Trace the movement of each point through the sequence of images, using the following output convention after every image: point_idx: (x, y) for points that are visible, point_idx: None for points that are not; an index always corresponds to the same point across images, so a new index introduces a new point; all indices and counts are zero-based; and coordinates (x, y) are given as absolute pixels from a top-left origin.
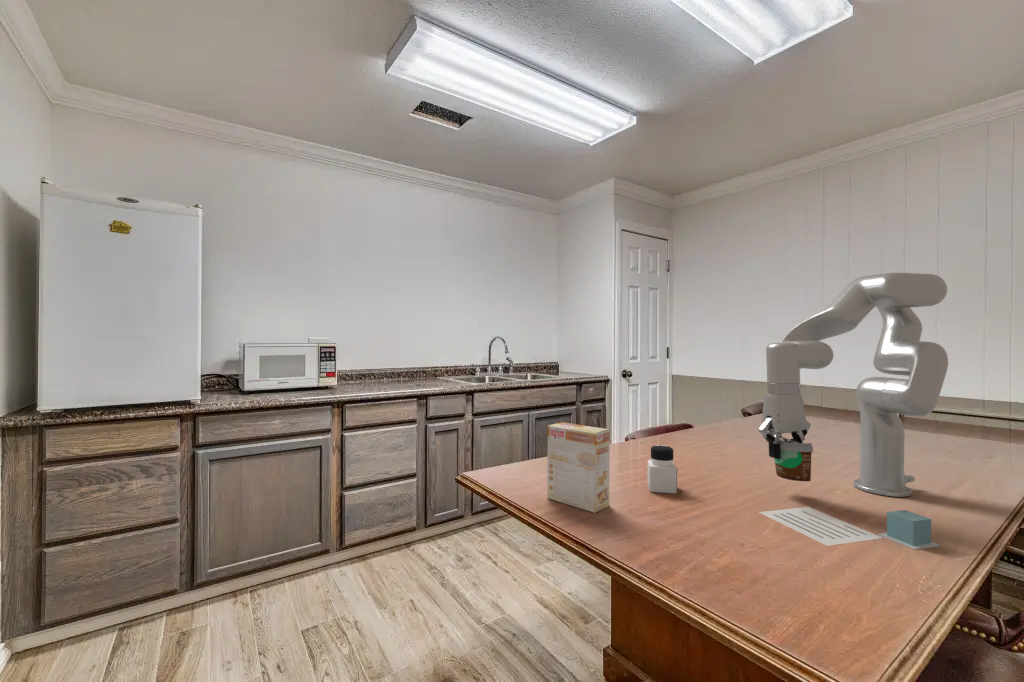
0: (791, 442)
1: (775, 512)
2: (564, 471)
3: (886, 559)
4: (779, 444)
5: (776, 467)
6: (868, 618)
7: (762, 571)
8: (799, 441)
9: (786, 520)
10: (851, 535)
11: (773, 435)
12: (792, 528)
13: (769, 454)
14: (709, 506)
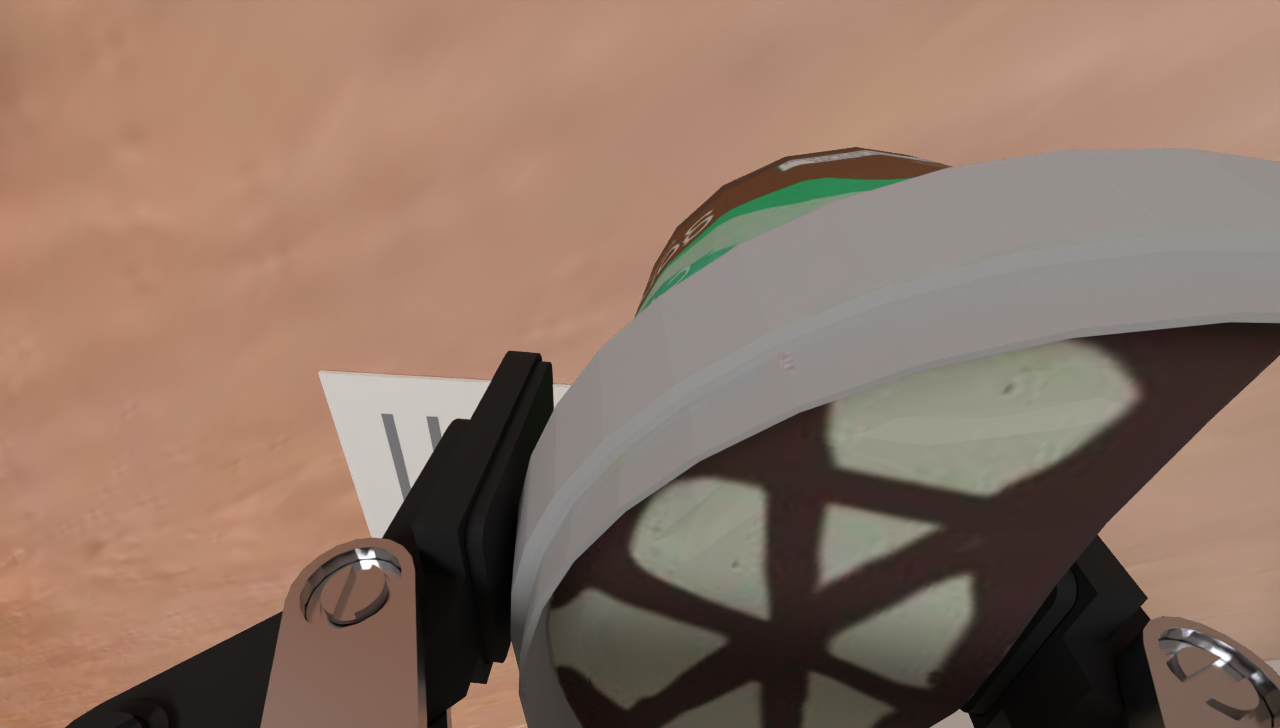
0: (786, 692)
1: (415, 400)
2: None
3: (513, 682)
4: (480, 674)
5: (653, 278)
6: None
7: (102, 643)
8: (988, 710)
9: (401, 475)
10: None
11: (950, 360)
12: (370, 527)
13: (505, 366)
14: (31, 203)
